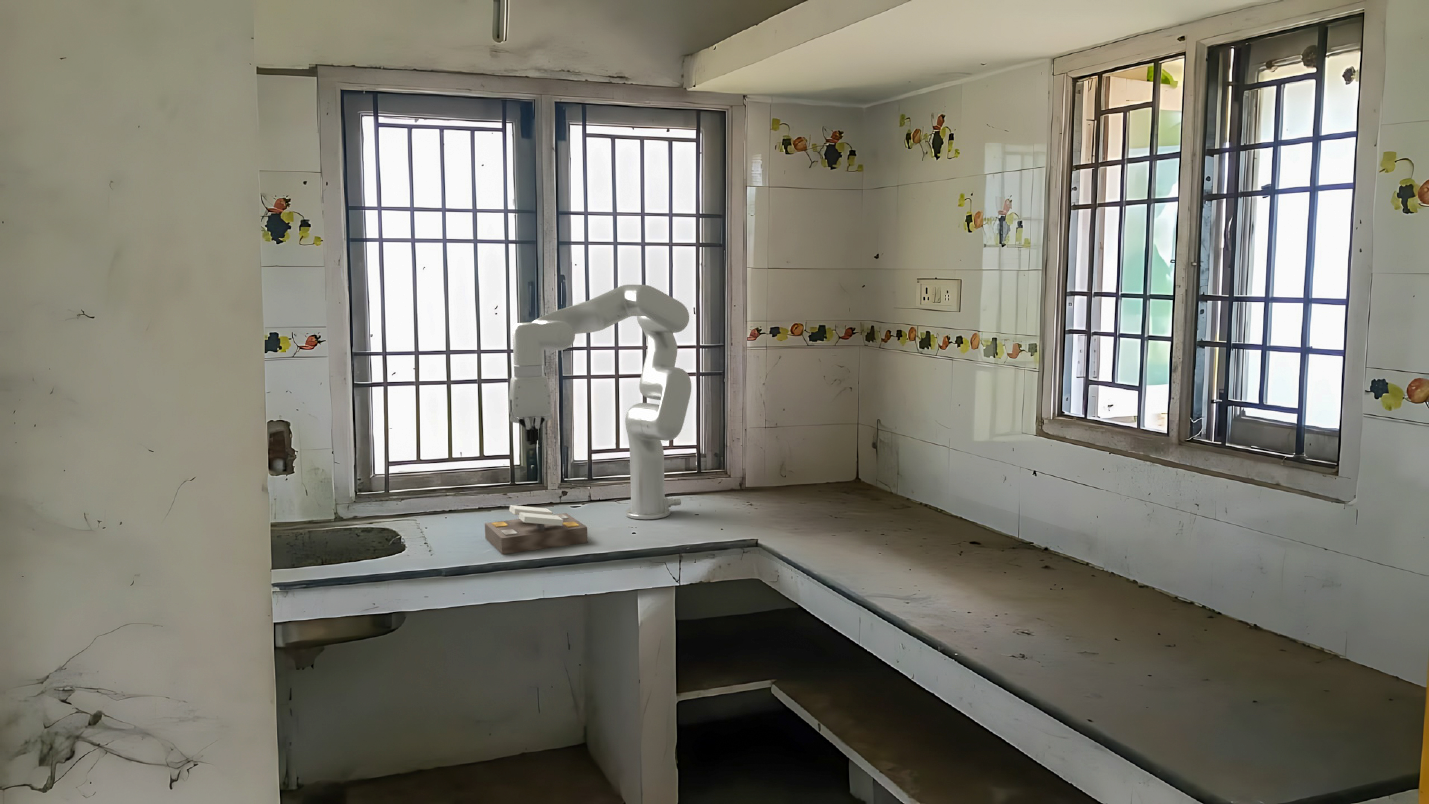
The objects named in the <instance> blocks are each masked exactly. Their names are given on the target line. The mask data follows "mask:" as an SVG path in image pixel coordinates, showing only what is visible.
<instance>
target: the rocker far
mask: <svg viewBox="0 0 1429 804" xmlns="http://www.w3.org/2000/svg"><path fill="white" fill-rule="evenodd" d="M509 512H510V513H512V514H513V515H516V516H519V513H520V512H522V513H533V514H544V515H553V513H554V512H553V511H551V510H550V509H548V508H546V507H535V506H523V505H516V504H515V505H513V504H510V505H509Z"/></svg>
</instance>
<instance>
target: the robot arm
mask: <svg viewBox="0 0 1429 804" xmlns="http://www.w3.org/2000/svg"><path fill="white" fill-rule="evenodd" d="M630 317H636V320H637V324H638V325H639V327H640V329H641V330H642V331H643V333H644V336H645V339H646V344H647V347H646V348H647V349H646V353H645V359H644V364H643V366H642V372H641V374H640V379H639V385H638V387H639V391H640V393H641V395H642V396H643V397H644V398H647V399H652V400H656V401H659V404H657V403H650V402H649V403H648V402H638V403H636V404H633V405H632V406H630V407H629V408H628V411H626V413H625V420H624V422H625V423H624V424H625V430H626V433H627V438H628V446H629V447H628V449H629V471H630V473H629V475H630V476H629V477H630V481H629V482H630V507H629V508H627V509H626V510H625V516H626V517H628V518H631V519H635V520H656V519H658V520H659V519H662V518H667V517H668V516H670V515H671V509H670V508H671V507H674V506H676V507H677V506H681V505H682V500H681V498H679V497H678V498H672V497H671V498H668V497H666V496H665V495H666V494H665V493H666V492H665V490H666V488H665V453H664V452H665V451H664V446H663V444H662V441H666V442H667V441H672V440H674V439H676V438H677V437H678V436H679V435H680V434H681V431H682V429H683V426H684V423H685V418H686V416H687V411H688V408H689V403H690V398H691V394H692V380H691V377H690V375H689V374H688V372H687V371H686V370H684V369H683V368H680V367H676V363H677V357H678V344H677V340H676V338H675V336H674V334H677V333H680V332H682V331H684V330H685V329H686V328H687V326H688V324H689V323H690V313H689V311H688V309H687V307H686V306H685V304H683V303H682V302H681V301H680V300H678V299H676V298H674V297H672V296H670V295H669V294H666V293H665V292H663V291H661V290H660V289H658V288H655V287H653V286H651V285H647V284H623V285H620V286H618V287H615V288H613V289H611V290H609V291H607V292H604V293H602V294H600V295H598V296H596V297H594V298H591V299H589V300H586V301H582V302H579V303H576V304H574V305H571V306H567V307H564V308H560V309H557V310H554V311H551V312H549V313H546V314H544V315H543V316H540V317H538V318H536V319H535V320H533V321H531V322H518V323H515V324H514V325H513V327H512V350H513V351H512V353H513V354H512V355H513V372H514V373H513V374H514V377H511V378H510V382H509V391H508V392H509V395H508V412H509V415H510V417H509V421H510V422H511V423H514V424H515V423H516V424H519V425H521V427H523V428H524V435H525V442H526V443H527V444H528V445H530V446H532V445H538V441H539V440H540V439H539V429H540V428H541V426H542V425H543V424H544V422H547V421H550V420H552V419H553V415H552V410H553V407H552V405H553V404H552V396H551V395H552V394H551V388H550V382H549V380H548V376H546V373H547V372H550V371H551V367H550V365H548V366H547V365H546V364H545V351H547V350H550V351H551V350H552V351H563V350H567V349H569V348H570V347H571V346H572V345H573V344H574V342H575V339H576V335H580V334H589V333H595V332H600V331H603V330H606V329H607V328H609V327H611V326H613V325H616V324H618V323H619V322H621V321H624V320H626V319H628V318H630ZM530 418H532V424H531V421H530Z"/></svg>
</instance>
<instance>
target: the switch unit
mask: <svg viewBox="0 0 1429 804" xmlns="http://www.w3.org/2000/svg"><path fill="white" fill-rule="evenodd" d="M554 515H555V516H558V517H560V518H561V519H563V525H562V526H560V525H549V524H537V523H526V522H523V521H522V520H520V519H519V518H515V519H508V520H500V521H492V522H484V535H485V536H484V537H485V540H486V541H487V542H489V543H490V544H491V545H492V546H493V548H495V549H496V550H497V551H498V552H499V553H500V554H501V555H507V554H513V553H521V552H529V551H533V550H534V551H535V550H542V549H543V550H544V549H549V548H557V547H558V548H559V547H564V546H566V547H567V546H573V545H579V544H587V543H588V542H589V540H588V527H587V525H585V524H583V523H582V522H580V521H579V520H577V519H576V518H575V517H573V516H571V515H570V514H568V513H567V512H565V513H557V514H556V513H555V514H554Z"/></svg>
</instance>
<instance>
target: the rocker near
mask: <svg viewBox="0 0 1429 804" xmlns="http://www.w3.org/2000/svg"><path fill="white" fill-rule="evenodd" d="M518 519H520V520H522V521H523V522H526V523H537V524H549V525H560V526H562V525H563V519H561V518H560V517H558V516H555V514H552V515H544V514H533V513H522V512H520V513H519V515H518Z"/></svg>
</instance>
